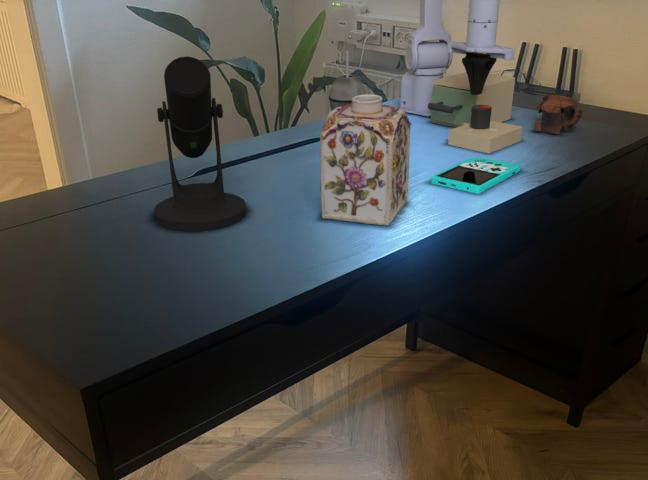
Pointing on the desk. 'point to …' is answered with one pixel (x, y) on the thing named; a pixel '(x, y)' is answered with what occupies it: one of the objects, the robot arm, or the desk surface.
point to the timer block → (485, 137)
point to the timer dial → (480, 116)
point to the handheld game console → (475, 174)
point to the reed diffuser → (345, 88)
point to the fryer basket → (451, 105)
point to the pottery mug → (557, 114)
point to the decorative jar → (364, 161)
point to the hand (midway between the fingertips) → (476, 94)
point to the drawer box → (486, 94)
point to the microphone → (194, 151)
